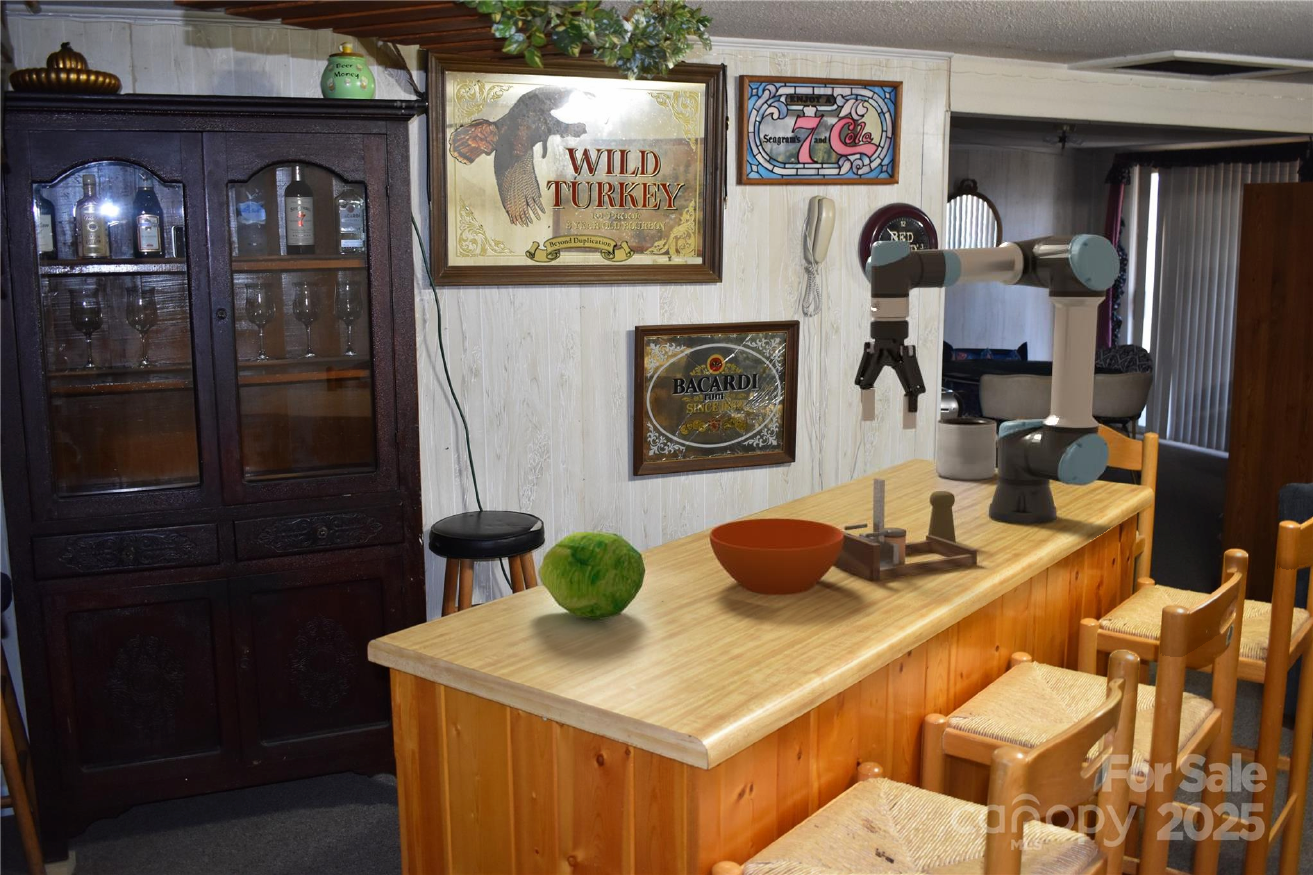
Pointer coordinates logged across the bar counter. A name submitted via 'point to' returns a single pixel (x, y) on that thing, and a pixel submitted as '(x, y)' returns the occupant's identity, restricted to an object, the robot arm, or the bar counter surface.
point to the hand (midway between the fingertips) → (888, 424)
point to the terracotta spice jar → (897, 541)
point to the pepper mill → (942, 515)
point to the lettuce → (593, 574)
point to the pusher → (882, 527)
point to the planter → (966, 448)
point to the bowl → (776, 553)
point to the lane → (866, 554)
